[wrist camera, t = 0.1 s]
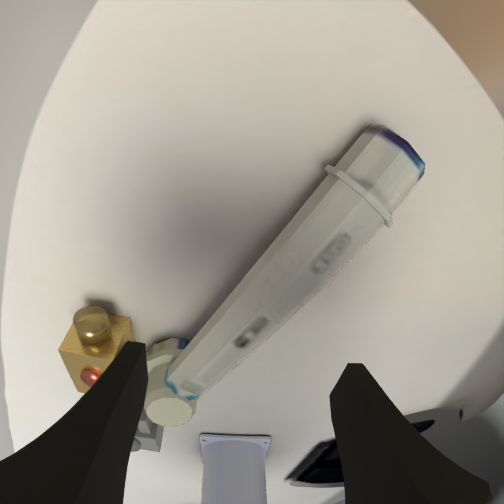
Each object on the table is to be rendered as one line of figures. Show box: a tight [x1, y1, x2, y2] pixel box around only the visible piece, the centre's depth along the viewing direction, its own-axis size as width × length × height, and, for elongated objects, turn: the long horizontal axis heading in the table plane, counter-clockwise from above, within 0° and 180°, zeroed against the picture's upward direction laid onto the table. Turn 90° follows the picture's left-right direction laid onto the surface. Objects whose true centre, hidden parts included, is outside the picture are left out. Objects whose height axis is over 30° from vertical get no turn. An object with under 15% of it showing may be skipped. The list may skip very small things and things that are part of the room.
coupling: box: [131, 407, 164, 452], centre depth 25 cm, size 6×7×5 cm
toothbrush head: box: [144, 124, 425, 427], centre depth 19 cm, size 5×7×25 cm
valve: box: [58, 306, 135, 393], centre depth 21 cm, size 8×4×5 cm, turn 175°
